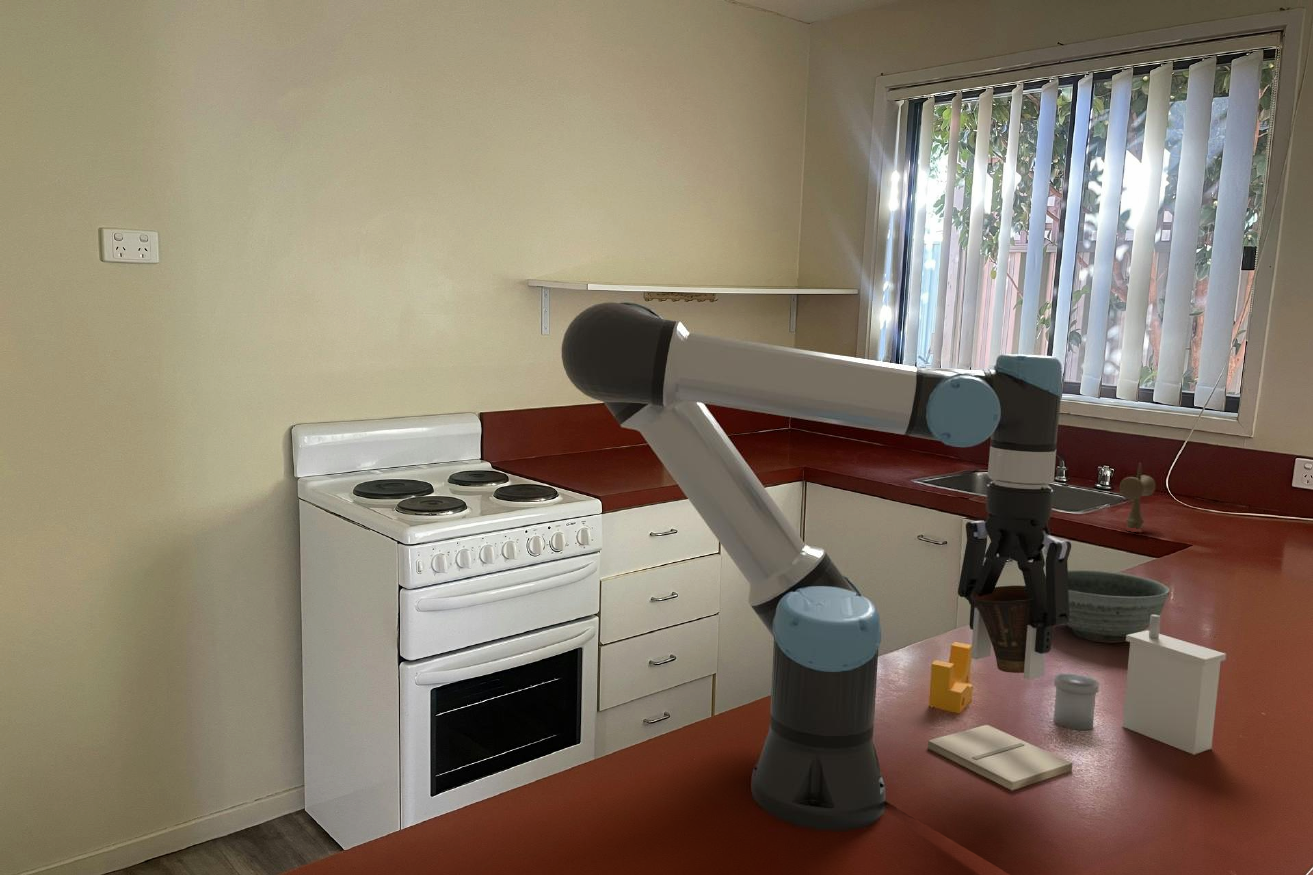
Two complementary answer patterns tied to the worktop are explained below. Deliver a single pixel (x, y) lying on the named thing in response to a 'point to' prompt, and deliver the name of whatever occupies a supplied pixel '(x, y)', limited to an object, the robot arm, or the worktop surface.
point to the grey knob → (1075, 700)
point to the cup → (1007, 624)
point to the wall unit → (1171, 689)
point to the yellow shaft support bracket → (952, 680)
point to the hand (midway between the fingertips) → (1006, 666)
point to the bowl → (1112, 604)
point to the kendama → (1136, 495)
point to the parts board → (1000, 756)
